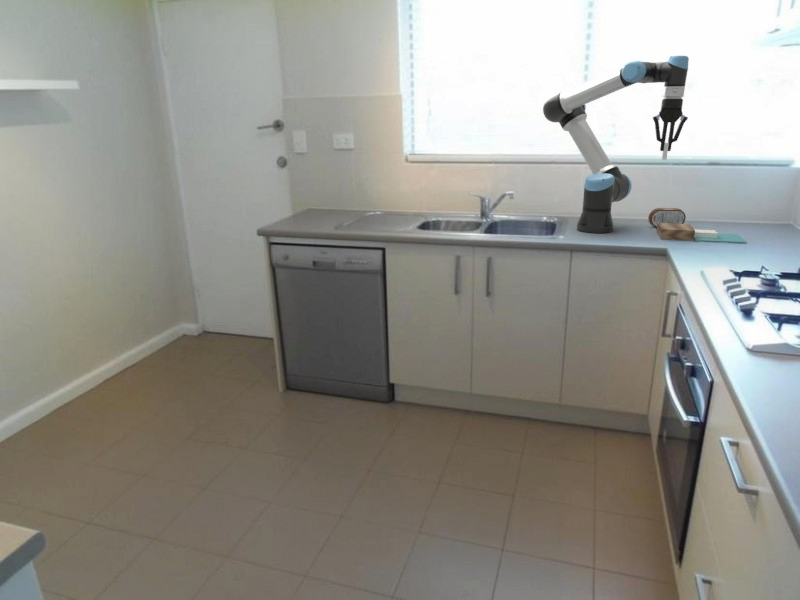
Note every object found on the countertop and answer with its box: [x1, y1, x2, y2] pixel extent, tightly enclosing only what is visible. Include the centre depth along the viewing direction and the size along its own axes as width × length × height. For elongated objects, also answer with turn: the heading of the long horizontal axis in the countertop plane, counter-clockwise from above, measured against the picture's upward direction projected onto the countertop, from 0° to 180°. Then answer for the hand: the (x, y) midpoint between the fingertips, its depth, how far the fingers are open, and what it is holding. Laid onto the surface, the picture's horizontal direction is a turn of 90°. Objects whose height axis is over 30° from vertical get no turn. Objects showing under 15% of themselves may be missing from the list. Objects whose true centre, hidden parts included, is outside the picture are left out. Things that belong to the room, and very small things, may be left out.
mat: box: [694, 232, 748, 244], centre depth 230 cm, size 18×16×1 cm
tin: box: [648, 207, 687, 228], centre depth 251 cm, size 15×3×8 cm, turn 84°
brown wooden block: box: [656, 223, 695, 241], centre depth 234 cm, size 12×14×4 cm
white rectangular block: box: [693, 228, 719, 238], centre depth 231 cm, size 9×6×2 cm, turn 73°
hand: (664, 159), depth 234 cm, fingers closed
